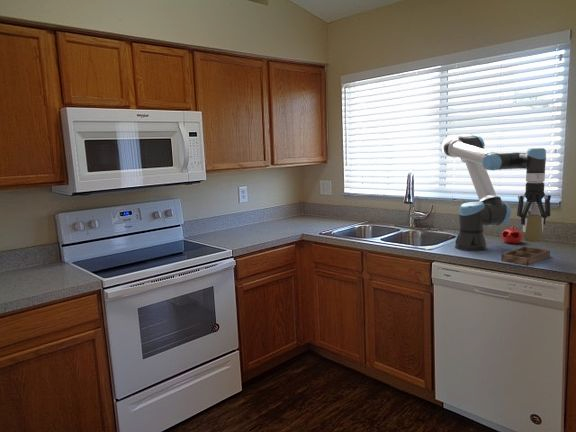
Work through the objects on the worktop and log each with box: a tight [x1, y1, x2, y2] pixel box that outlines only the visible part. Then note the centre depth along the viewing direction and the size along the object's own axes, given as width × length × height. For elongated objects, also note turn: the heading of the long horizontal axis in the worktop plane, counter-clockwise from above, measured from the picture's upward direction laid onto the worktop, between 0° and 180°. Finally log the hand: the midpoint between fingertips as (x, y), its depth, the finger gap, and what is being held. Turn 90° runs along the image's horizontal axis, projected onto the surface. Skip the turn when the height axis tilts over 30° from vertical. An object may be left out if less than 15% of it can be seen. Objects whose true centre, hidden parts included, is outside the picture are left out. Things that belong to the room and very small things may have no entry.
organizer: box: [500, 246, 551, 266], centre depth 204 cm, size 12×22×3 cm, turn 128°
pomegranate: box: [501, 225, 524, 244], centre depth 237 cm, size 10×10×9 cm
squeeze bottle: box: [522, 202, 543, 243], centre depth 205 cm, size 8×8×18 cm
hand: (532, 231), depth 206 cm, fingers closed on squeeze bottle, 6 cm apart
